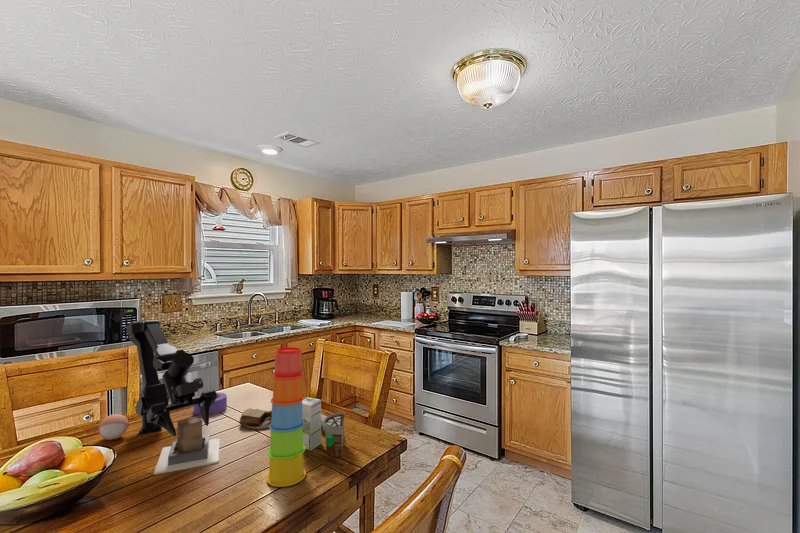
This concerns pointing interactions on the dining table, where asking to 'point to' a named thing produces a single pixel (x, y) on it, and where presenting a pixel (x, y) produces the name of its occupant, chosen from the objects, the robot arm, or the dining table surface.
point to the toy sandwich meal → (256, 419)
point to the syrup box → (311, 422)
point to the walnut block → (189, 435)
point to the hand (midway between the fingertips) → (191, 430)
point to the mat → (212, 459)
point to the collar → (188, 453)
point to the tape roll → (214, 404)
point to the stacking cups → (287, 420)
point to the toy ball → (113, 426)
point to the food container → (334, 435)
